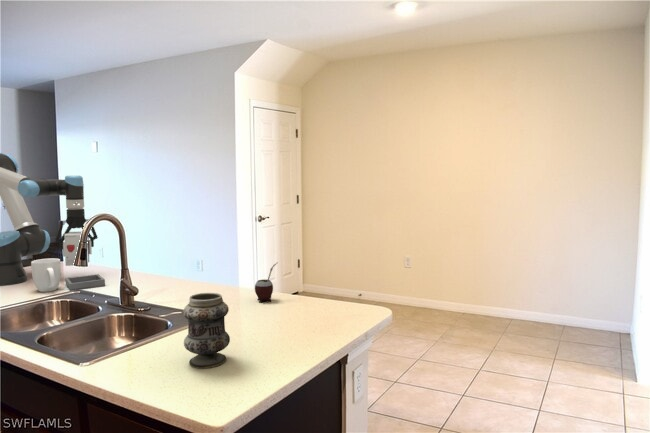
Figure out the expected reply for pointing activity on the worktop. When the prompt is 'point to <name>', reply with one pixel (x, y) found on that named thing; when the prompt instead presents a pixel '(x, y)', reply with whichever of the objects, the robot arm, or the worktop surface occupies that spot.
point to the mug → (46, 274)
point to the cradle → (84, 282)
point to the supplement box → (72, 247)
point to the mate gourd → (264, 289)
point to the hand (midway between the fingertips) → (77, 255)
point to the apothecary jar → (206, 329)
